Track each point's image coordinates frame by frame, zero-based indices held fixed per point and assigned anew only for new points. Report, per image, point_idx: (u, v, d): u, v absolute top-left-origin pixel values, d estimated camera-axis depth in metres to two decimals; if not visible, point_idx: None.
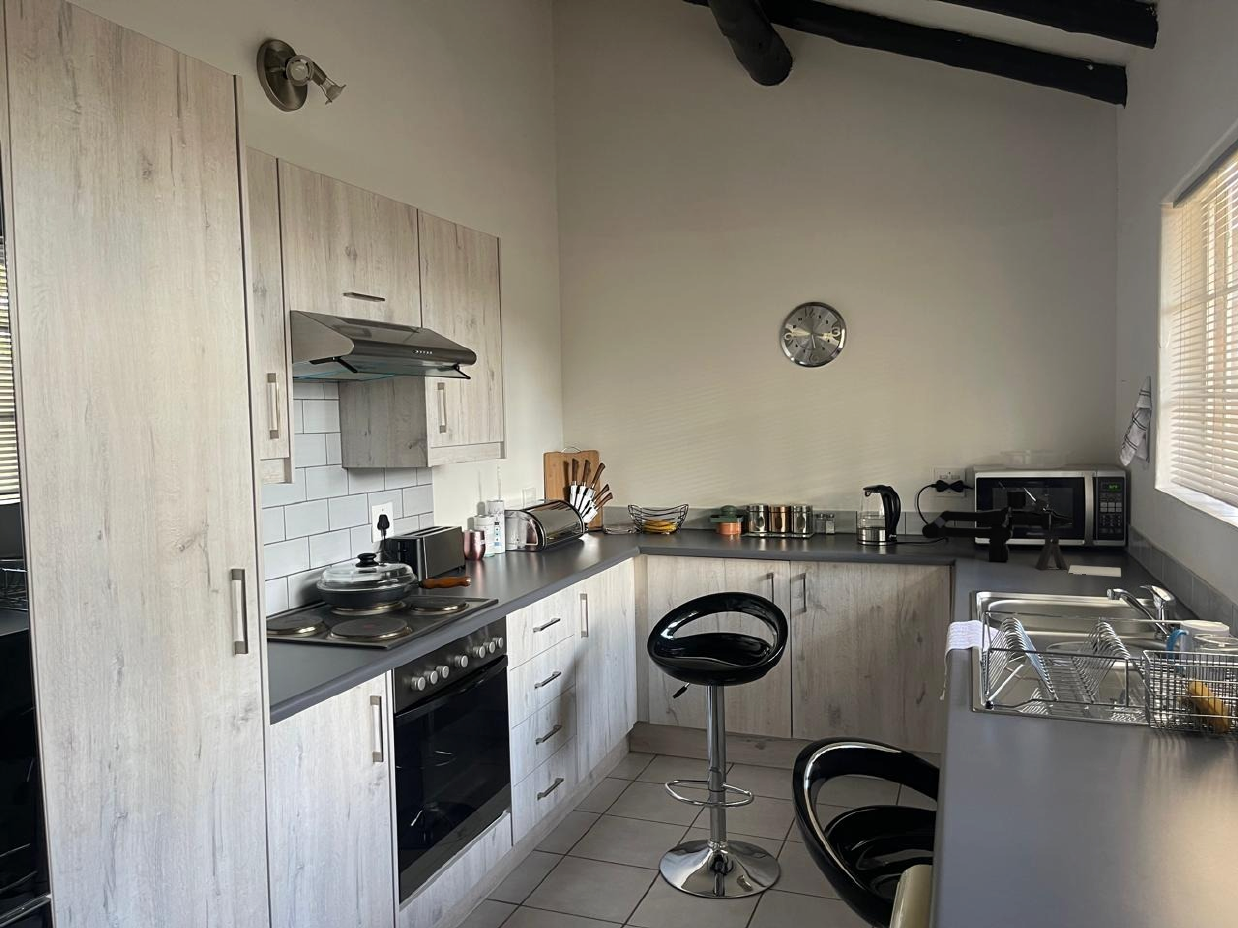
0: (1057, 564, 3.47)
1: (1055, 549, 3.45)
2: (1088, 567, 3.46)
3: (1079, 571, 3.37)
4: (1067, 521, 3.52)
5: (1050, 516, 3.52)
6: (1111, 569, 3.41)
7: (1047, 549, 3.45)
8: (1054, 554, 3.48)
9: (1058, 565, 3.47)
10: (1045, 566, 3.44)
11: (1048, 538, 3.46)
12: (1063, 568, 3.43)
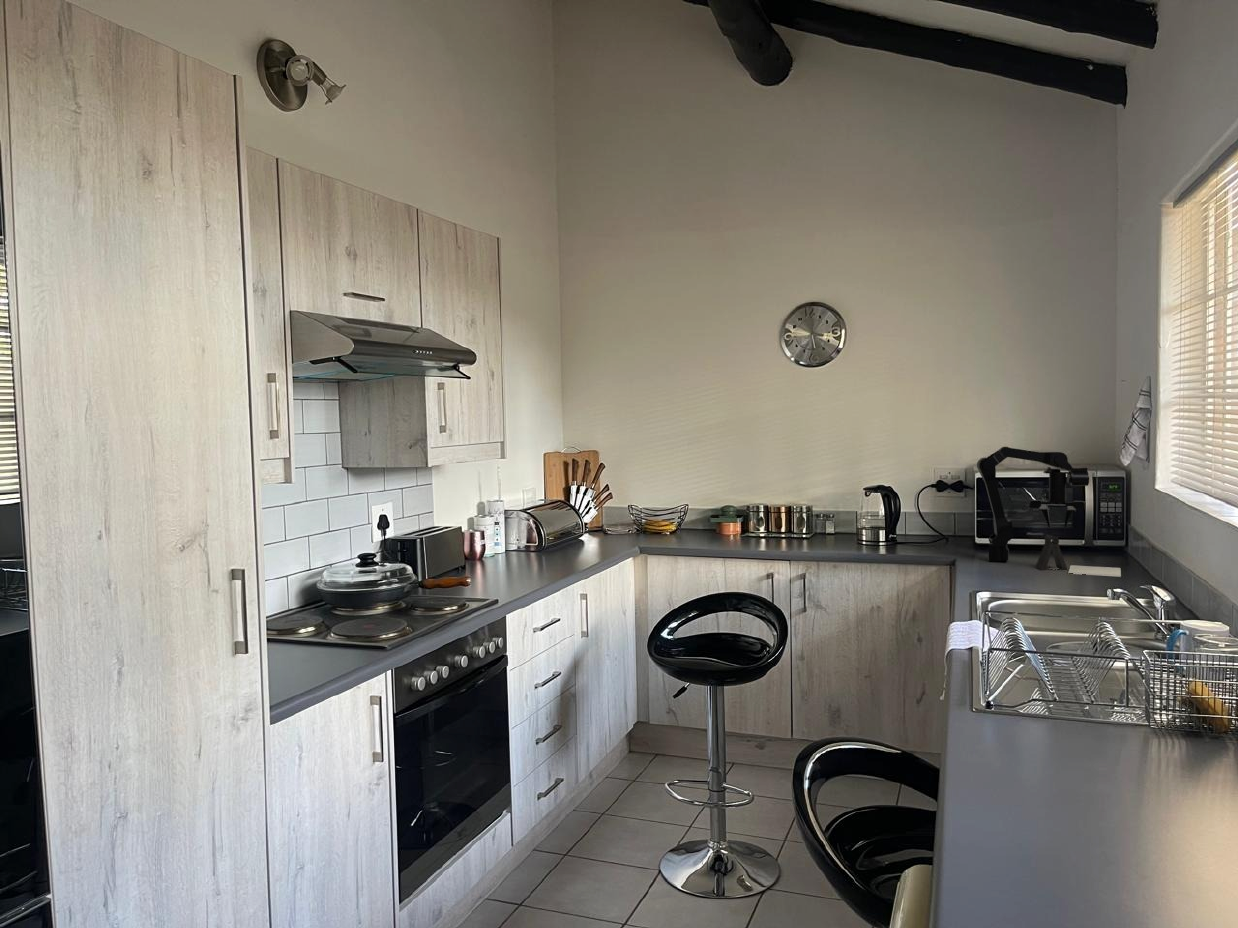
0: (1057, 564, 3.47)
1: (1055, 549, 3.45)
2: (1088, 567, 3.46)
3: (1079, 571, 3.37)
4: None
5: (1075, 509, 3.61)
6: (1111, 569, 3.41)
7: (1047, 549, 3.45)
8: (1054, 554, 3.48)
9: (1058, 565, 3.47)
10: (1045, 566, 3.44)
11: (1048, 538, 3.46)
12: (1063, 568, 3.43)
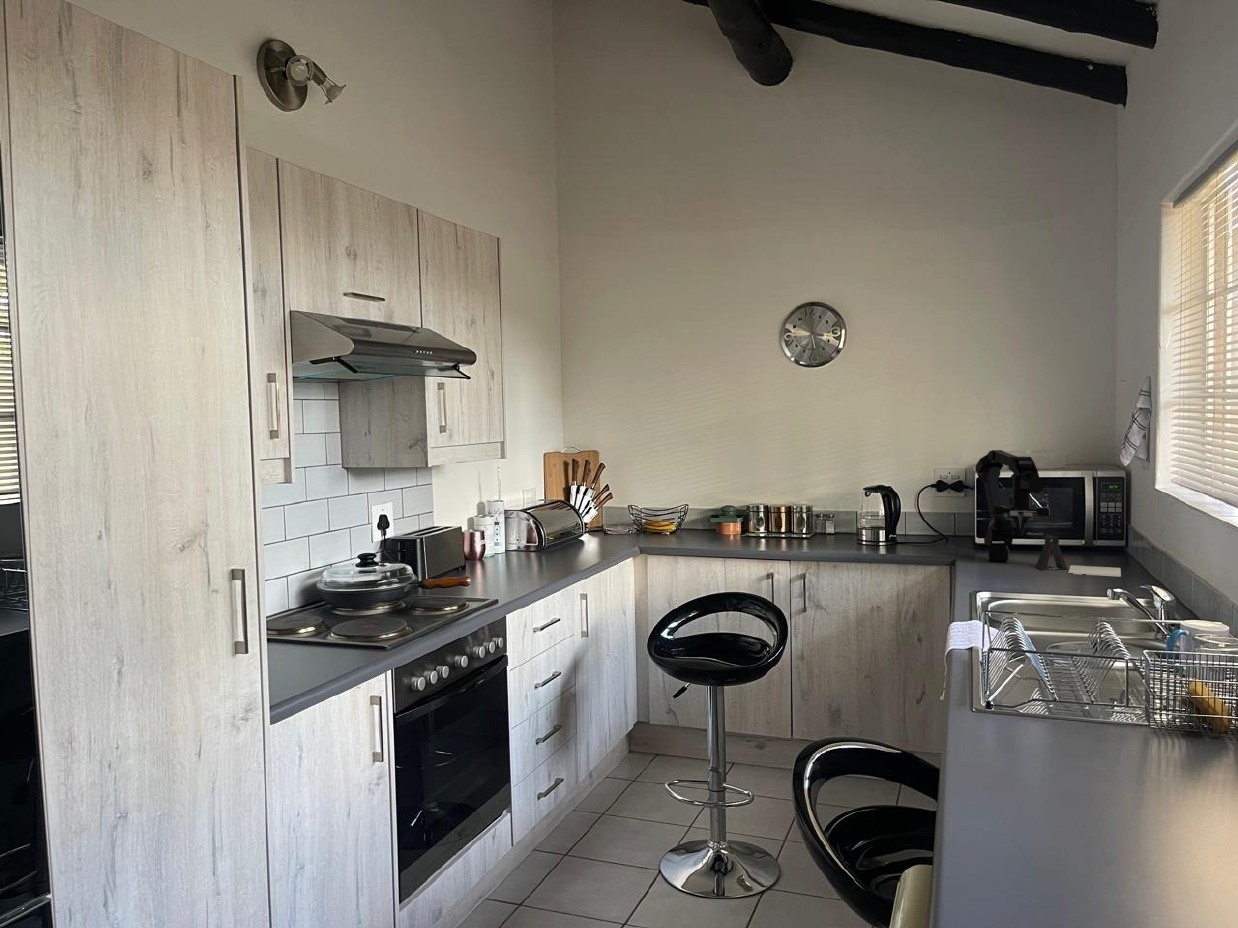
0: (1057, 564, 3.47)
1: (1055, 549, 3.45)
2: (1088, 567, 3.46)
3: (1079, 571, 3.37)
4: (1023, 530, 3.51)
5: (1032, 515, 3.51)
6: (1111, 569, 3.41)
7: (1047, 549, 3.45)
8: (1054, 554, 3.48)
9: (1058, 565, 3.47)
10: (1045, 566, 3.44)
11: (1048, 538, 3.46)
12: (1063, 568, 3.43)
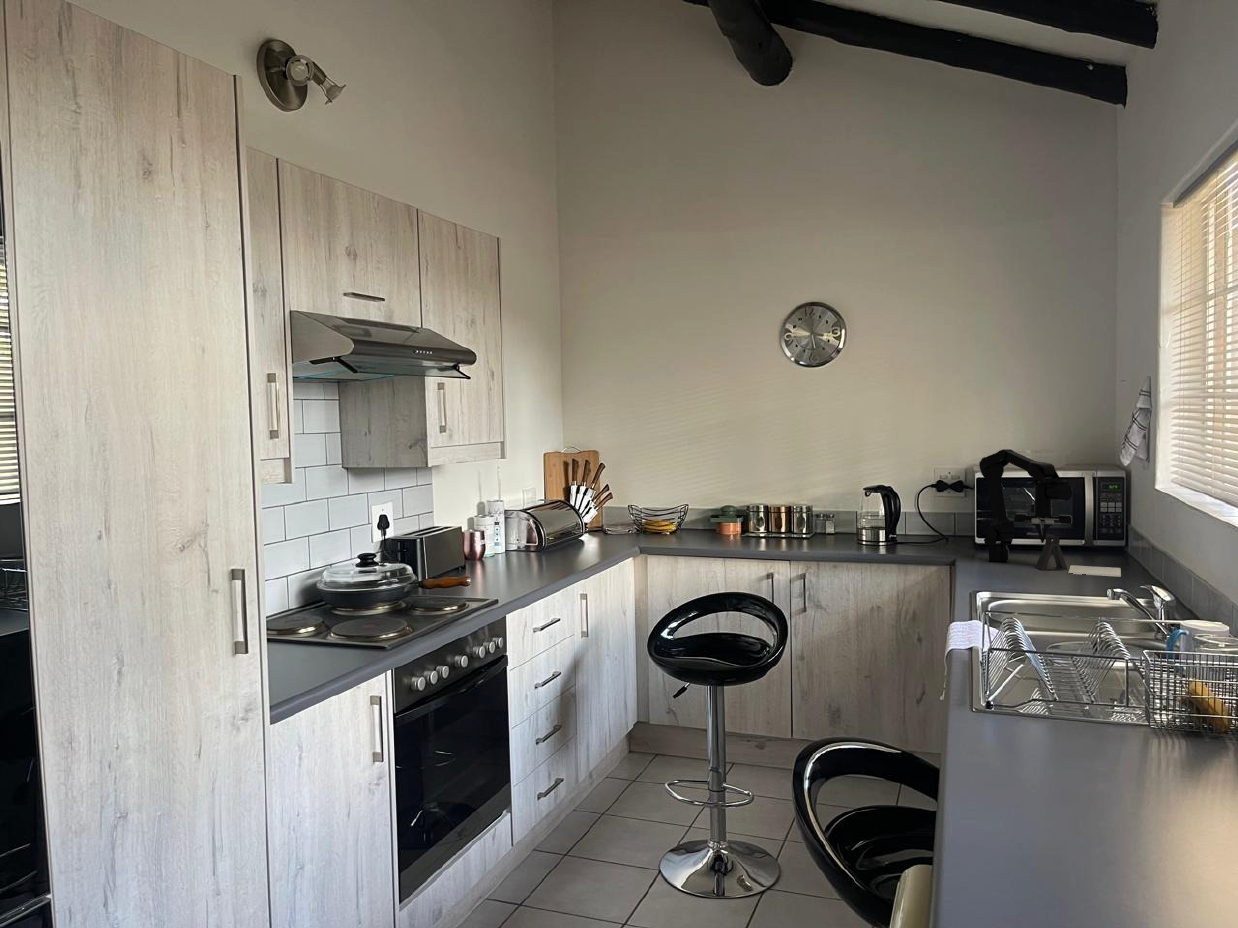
0: (1057, 564, 3.47)
1: (1056, 549, 3.45)
2: (1088, 567, 3.46)
3: (1079, 571, 3.37)
4: (1044, 538, 3.47)
5: (1053, 523, 3.47)
6: (1111, 569, 3.41)
7: (1048, 549, 3.44)
8: (1054, 554, 3.48)
9: (1058, 565, 3.47)
10: (1045, 565, 3.44)
11: (1049, 538, 3.46)
12: (1063, 568, 3.43)
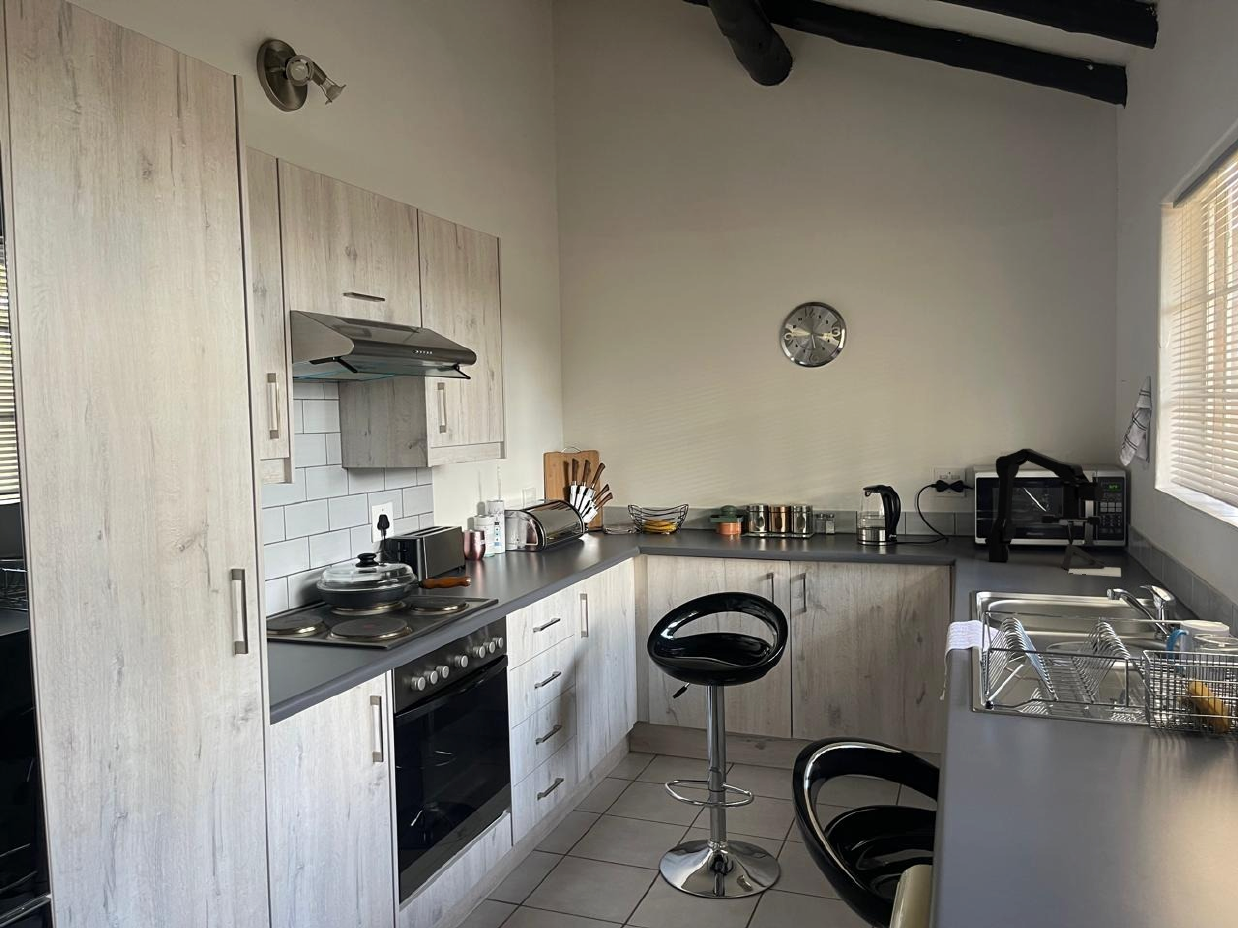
0: (1069, 563, 3.47)
1: (1088, 564, 3.44)
2: None
3: (1079, 571, 3.37)
4: None
5: (1082, 524, 3.43)
6: (1111, 569, 3.41)
7: None
8: (1079, 563, 3.47)
9: (1069, 564, 3.46)
10: (1076, 550, 3.43)
11: (1101, 560, 3.44)
12: (1070, 566, 3.43)
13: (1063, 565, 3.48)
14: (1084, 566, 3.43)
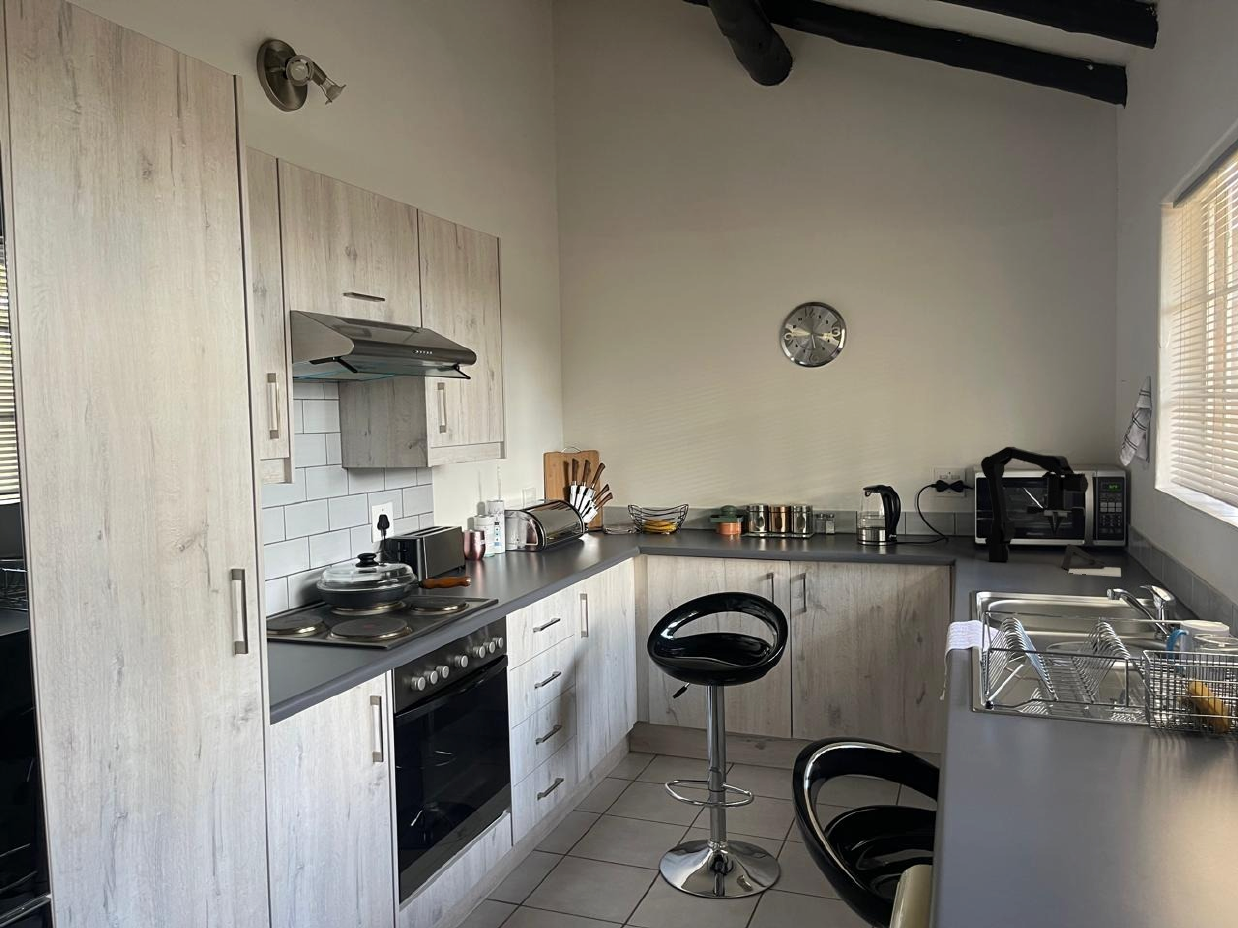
0: (1069, 563, 3.47)
1: (1088, 564, 3.44)
2: None
3: (1079, 571, 3.37)
4: (1057, 530, 3.49)
5: (1066, 515, 3.49)
6: (1111, 569, 3.41)
7: None
8: (1079, 563, 3.47)
9: (1069, 564, 3.46)
10: (1076, 550, 3.43)
11: (1101, 560, 3.44)
12: (1070, 566, 3.43)
13: (1063, 565, 3.48)
14: (1084, 566, 3.43)
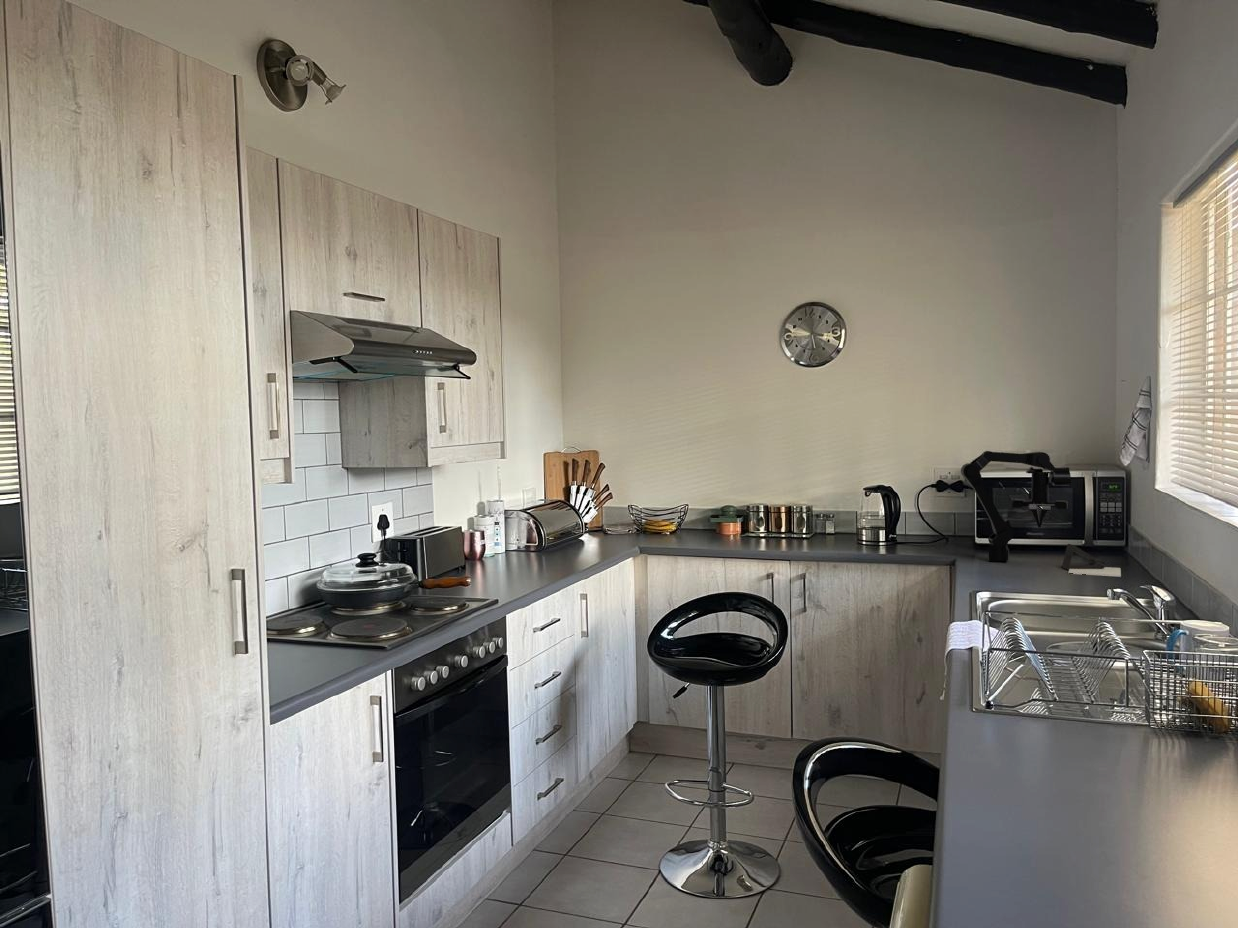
0: (1069, 563, 3.47)
1: (1088, 564, 3.44)
2: None
3: (1079, 571, 3.37)
4: None
5: None
6: (1111, 569, 3.41)
7: None
8: (1079, 563, 3.47)
9: (1069, 564, 3.46)
10: (1076, 550, 3.43)
11: (1101, 560, 3.44)
12: (1070, 566, 3.43)
13: (1063, 565, 3.48)
14: (1084, 566, 3.43)
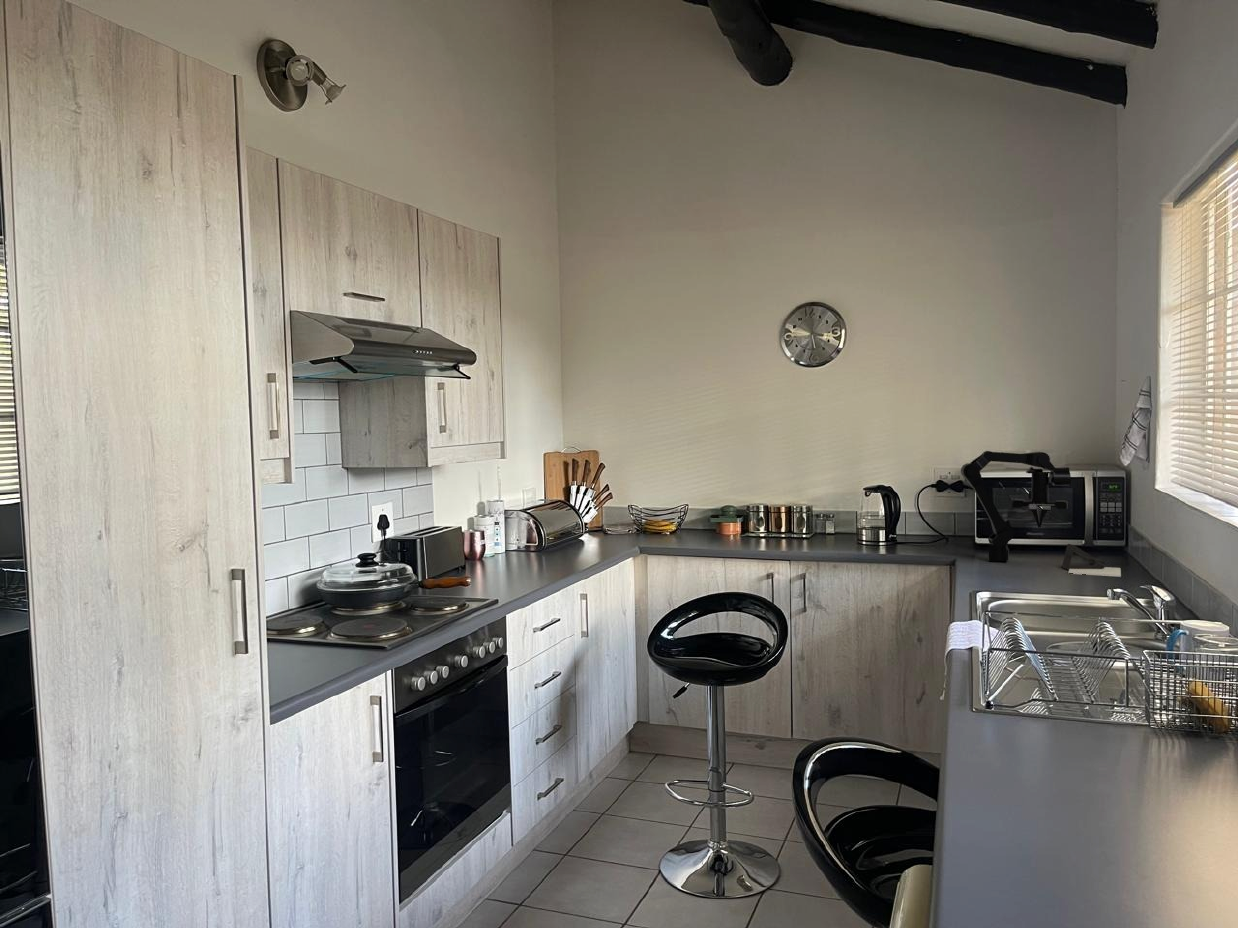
0: (1069, 563, 3.47)
1: (1088, 564, 3.44)
2: None
3: (1079, 571, 3.37)
4: None
5: None
6: (1111, 569, 3.41)
7: None
8: (1079, 563, 3.47)
9: (1069, 564, 3.46)
10: (1076, 550, 3.43)
11: (1101, 560, 3.44)
12: (1070, 566, 3.43)
13: (1063, 565, 3.48)
14: (1084, 566, 3.43)
